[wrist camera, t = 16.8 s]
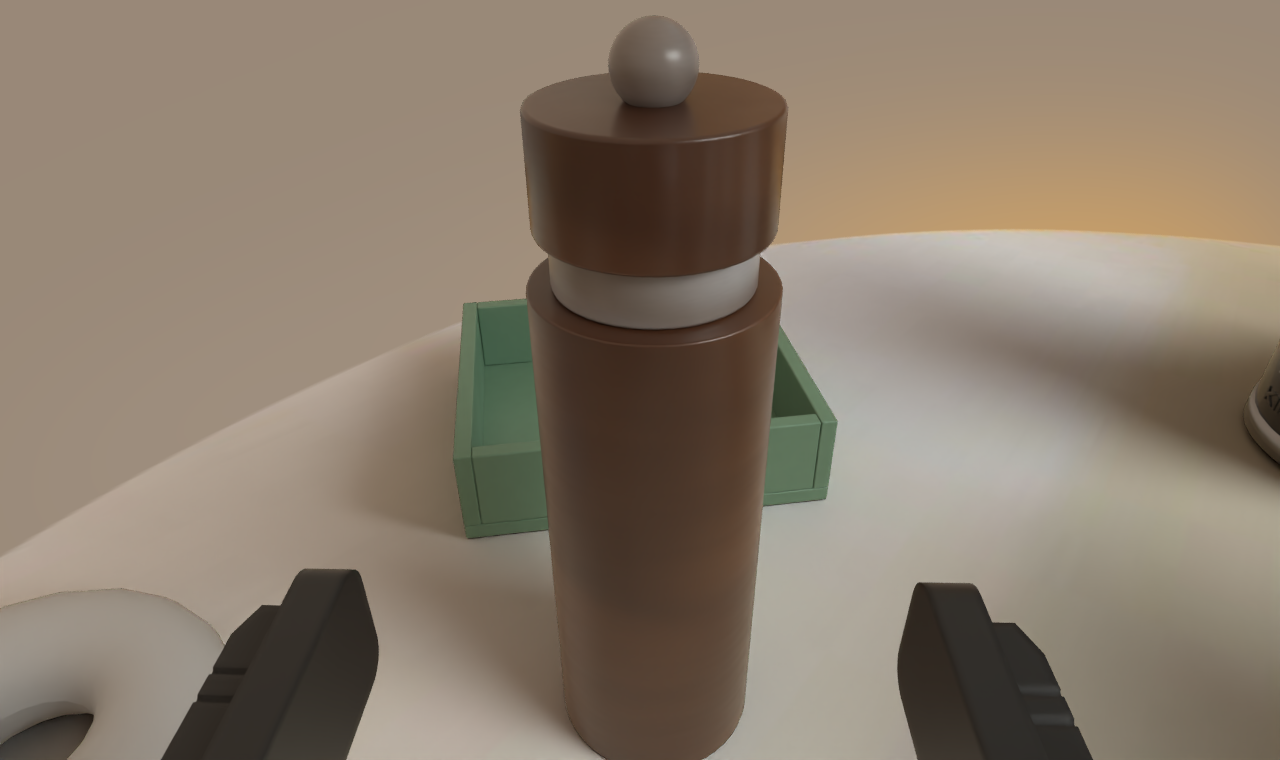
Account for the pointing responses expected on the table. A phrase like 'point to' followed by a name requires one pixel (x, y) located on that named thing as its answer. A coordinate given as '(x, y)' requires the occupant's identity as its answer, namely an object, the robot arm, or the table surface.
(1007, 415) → the table surface
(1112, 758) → the table surface
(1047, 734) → the robot arm
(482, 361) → the green shallow open box
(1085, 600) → the table surface
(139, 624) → the donut
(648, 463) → the pepper mill
